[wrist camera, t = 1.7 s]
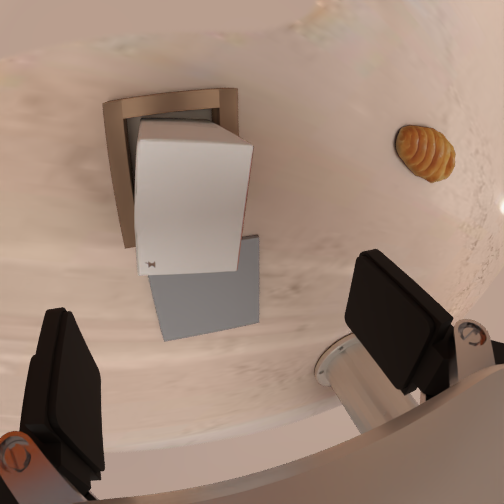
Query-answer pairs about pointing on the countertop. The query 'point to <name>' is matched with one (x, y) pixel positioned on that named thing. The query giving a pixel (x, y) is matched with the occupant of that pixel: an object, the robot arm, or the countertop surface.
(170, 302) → the mat
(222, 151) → the small box
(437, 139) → the pastry
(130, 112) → the holder
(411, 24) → the countertop surface
